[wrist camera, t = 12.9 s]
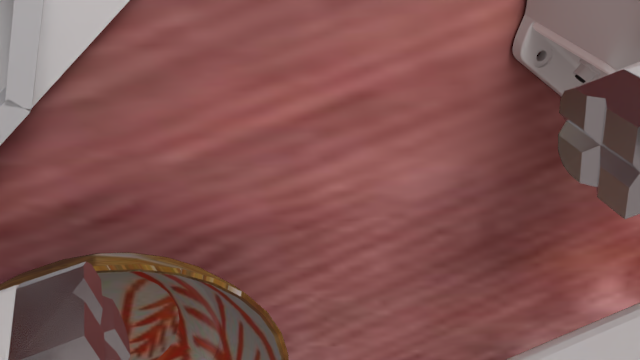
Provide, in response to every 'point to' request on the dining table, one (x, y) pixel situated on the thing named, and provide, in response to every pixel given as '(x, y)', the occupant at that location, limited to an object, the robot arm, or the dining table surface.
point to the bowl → (178, 309)
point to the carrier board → (43, 48)
